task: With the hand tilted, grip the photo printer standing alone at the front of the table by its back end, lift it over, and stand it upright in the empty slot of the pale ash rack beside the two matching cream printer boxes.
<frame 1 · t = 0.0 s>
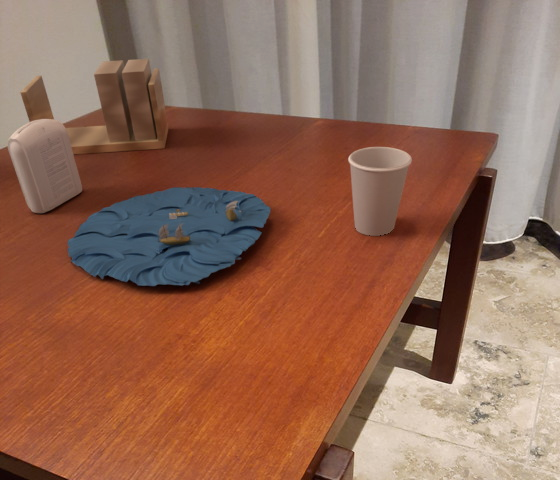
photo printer: (57, 202, 91), on the table
decorative plate: (173, 239, 80), on the table
dixie cup: (374, 228, 80), on the table
rack: (107, 142, 112), on the table
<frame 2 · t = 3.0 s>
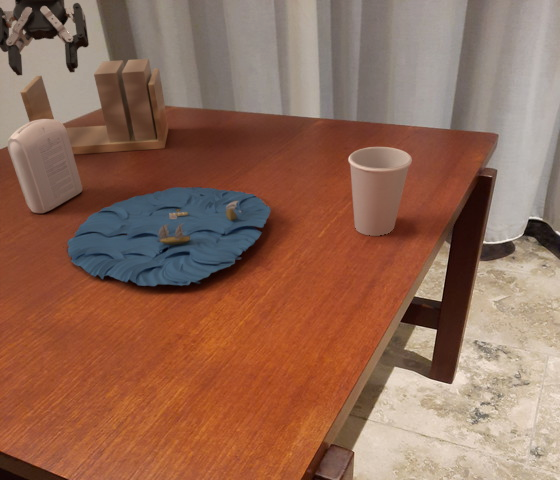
hand: (44, 71, 90), 16 cm above the table, tool tilted 45°, fingers open, 8 cm apart
nothing on the table moved.
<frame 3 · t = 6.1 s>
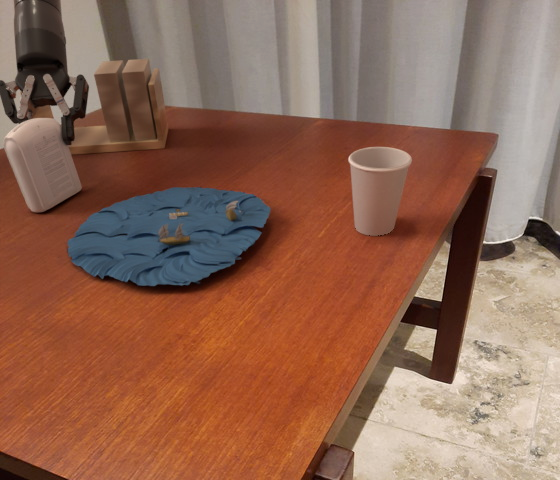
hand: (48, 143, 87), 8 cm above the table, tool tilted 45°, fingers closed on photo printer, 5 cm apart
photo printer: (57, 201, 91), on the table, touching gripper
everything else where it was.
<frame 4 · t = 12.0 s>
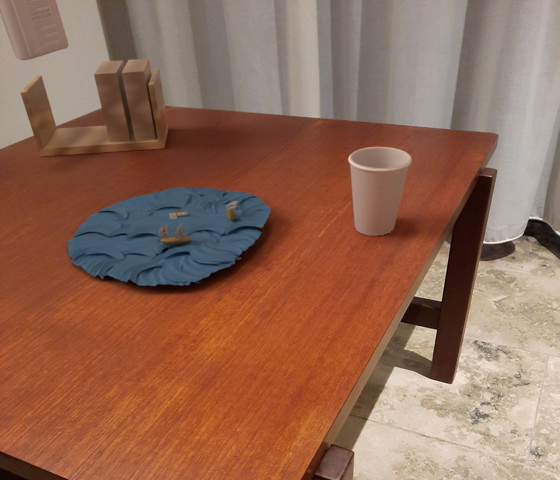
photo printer: (44, 55, 93), point 18 cm above the table, touching gripper
everything else where it was.
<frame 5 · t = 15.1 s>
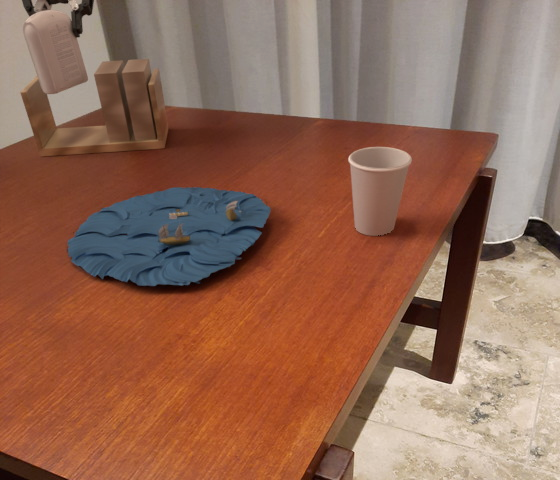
hand: (60, 35, 101), 19 cm above the table, tool tilted 45°, fingers closed on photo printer, 5 cm apart
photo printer: (67, 89, 105), point 10 cm above the table, touching gripper
everything else where it was.
when the fingers open (10 cm above the table, at t = 17.9 s): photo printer stays where it is, resting on rack.
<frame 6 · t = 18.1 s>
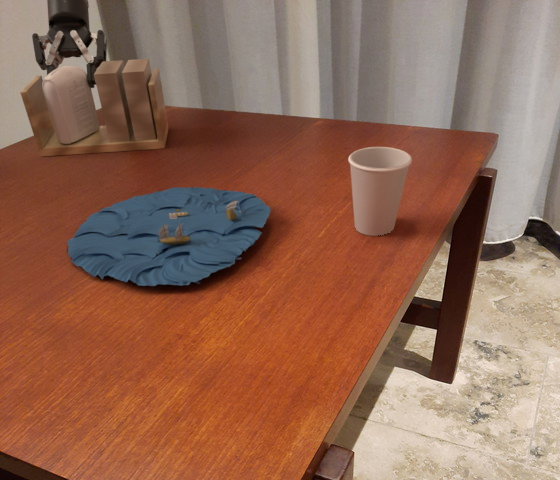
hand: (72, 86, 107), 10 cm above the table, tool tilted 45°, fingers open, 6 cm apart
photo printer: (80, 137, 111), point 1 cm above the table, touching rack
everything else where it was.
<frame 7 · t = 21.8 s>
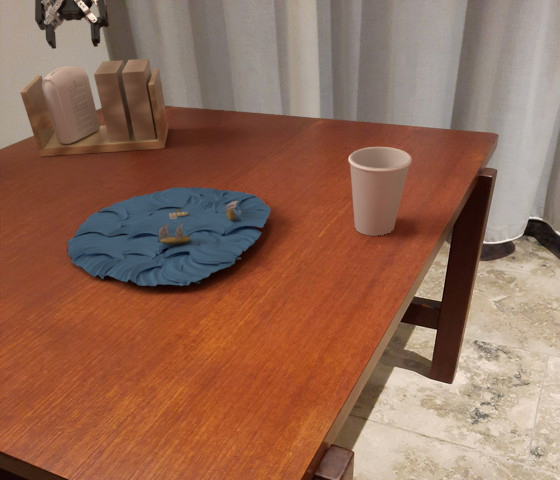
hand: (73, 45, 113), 15 cm above the table, tool tilted 45°, fingers open, 8 cm apart
nothing on the table moved.
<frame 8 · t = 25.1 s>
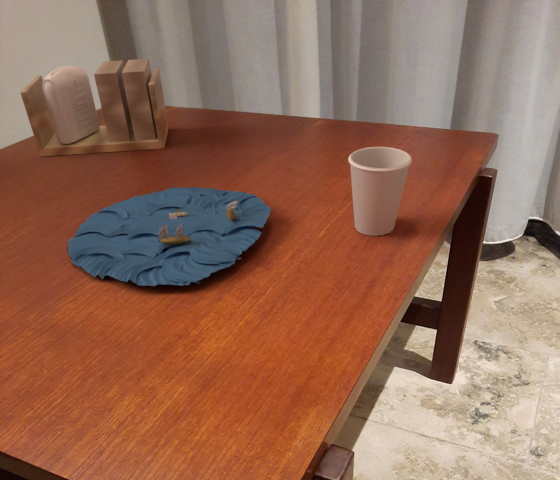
nothing on the table moved.
at the end: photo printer inside the target area on the rack (0.4 cm from its centre), point 1.3 cm above the rack's base; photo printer tilted 0°; the gripper is holding nothing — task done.
